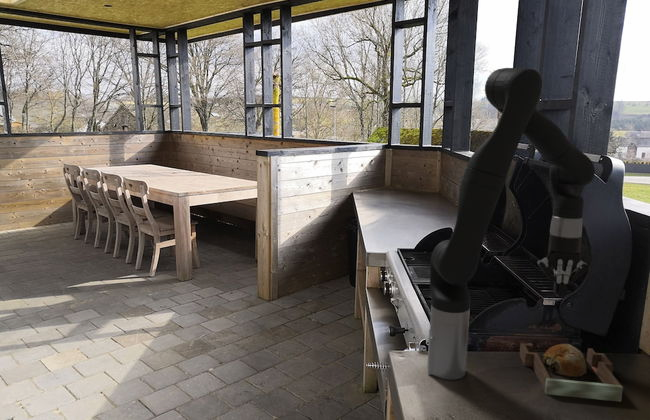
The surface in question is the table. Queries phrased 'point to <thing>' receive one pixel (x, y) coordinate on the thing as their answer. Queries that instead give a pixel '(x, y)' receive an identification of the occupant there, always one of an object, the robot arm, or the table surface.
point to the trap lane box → (580, 389)
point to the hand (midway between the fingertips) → (559, 295)
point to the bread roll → (565, 360)
